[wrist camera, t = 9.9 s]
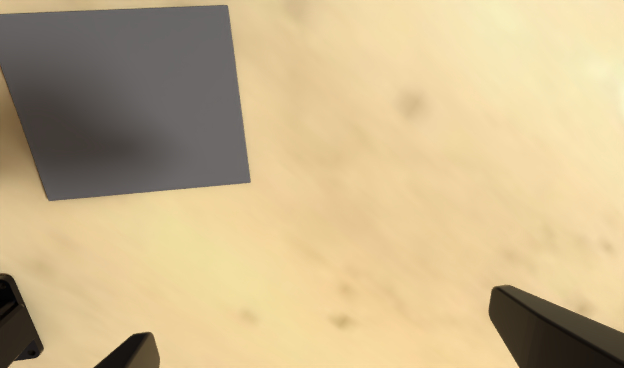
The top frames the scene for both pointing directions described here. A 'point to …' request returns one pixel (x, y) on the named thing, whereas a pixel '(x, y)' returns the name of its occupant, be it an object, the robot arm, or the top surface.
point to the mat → (127, 98)
